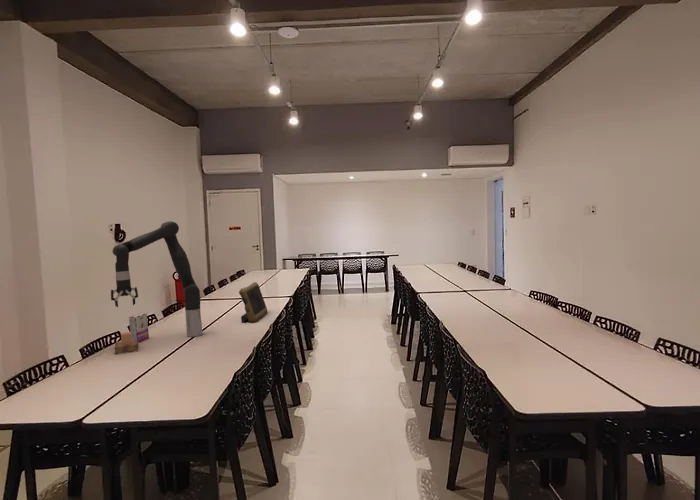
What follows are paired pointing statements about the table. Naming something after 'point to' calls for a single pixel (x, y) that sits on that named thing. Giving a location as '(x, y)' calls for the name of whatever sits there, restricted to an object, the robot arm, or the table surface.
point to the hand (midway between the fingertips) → (125, 305)
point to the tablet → (253, 303)
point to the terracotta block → (126, 338)
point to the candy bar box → (139, 327)
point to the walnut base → (126, 347)
